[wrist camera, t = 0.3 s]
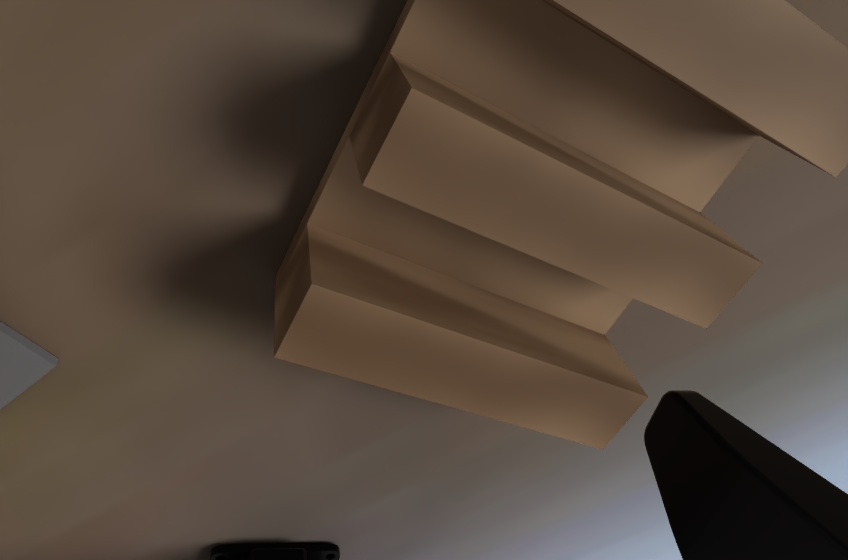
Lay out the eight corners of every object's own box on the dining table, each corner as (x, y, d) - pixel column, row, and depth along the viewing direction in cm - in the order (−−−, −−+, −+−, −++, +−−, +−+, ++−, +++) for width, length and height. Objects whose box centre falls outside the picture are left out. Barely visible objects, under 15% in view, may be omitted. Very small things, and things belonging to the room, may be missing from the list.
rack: (558, 370, 30) (602, 449, 26) (275, 275, 24) (274, 357, 20) (797, 55, 24) (907, 94, 20) (487, -169, 18) (549, -182, 14)
